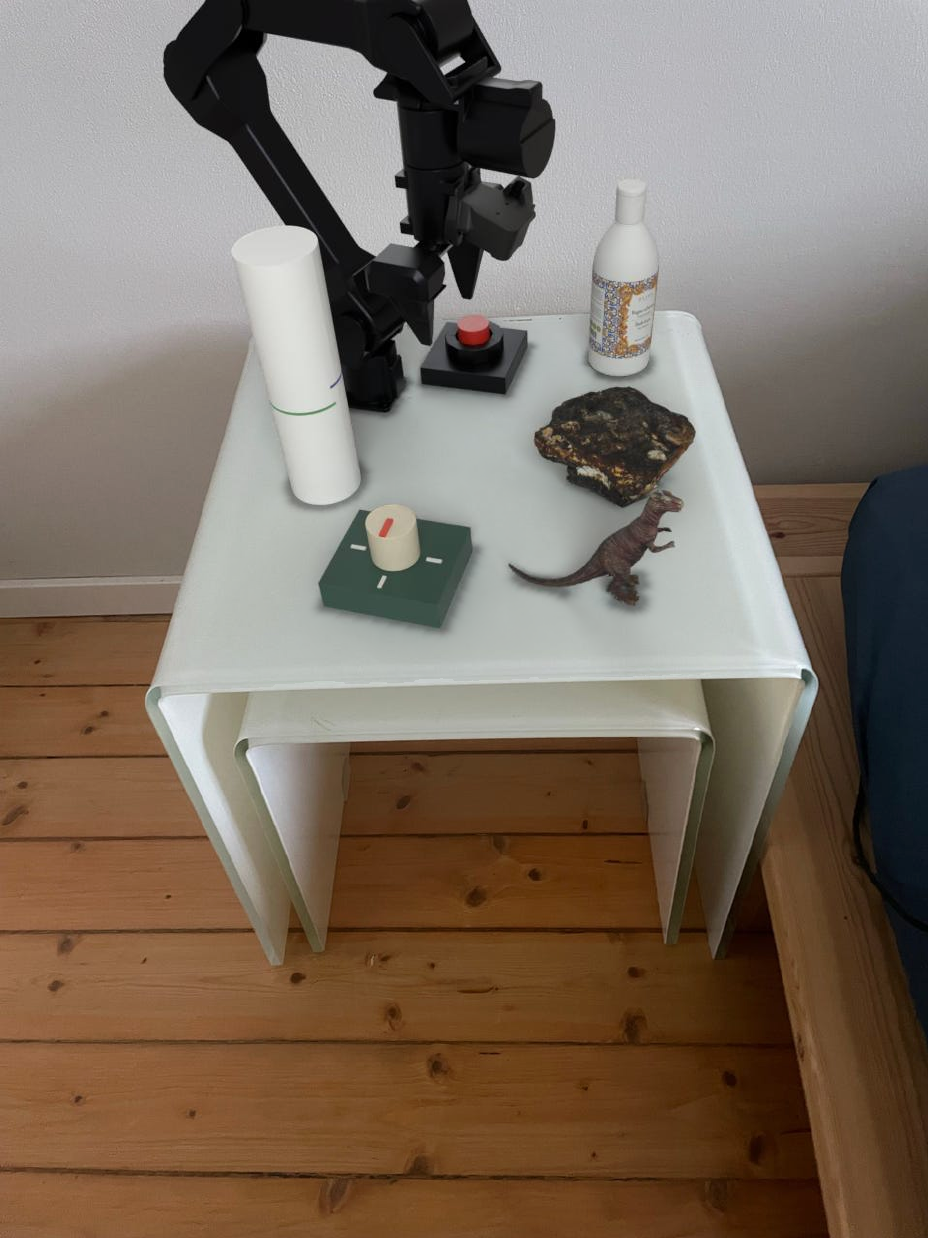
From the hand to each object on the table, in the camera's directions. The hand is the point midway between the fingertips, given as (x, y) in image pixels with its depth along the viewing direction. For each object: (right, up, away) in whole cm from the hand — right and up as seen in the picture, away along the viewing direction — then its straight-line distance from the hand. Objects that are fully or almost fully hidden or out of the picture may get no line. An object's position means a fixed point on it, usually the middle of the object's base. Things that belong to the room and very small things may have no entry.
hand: (447, 320), depth 90 cm
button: (+3, +2, +13) cm, 14 cm away
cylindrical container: (-13, -16, +3) cm, 20 cm away
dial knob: (-4, -24, -9) cm, 26 cm away
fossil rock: (+16, -15, +2) cm, 22 cm away
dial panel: (-4, -26, -7) cm, 27 cm away
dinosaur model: (+13, -27, -9) cm, 31 cm away
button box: (+3, 0, +16) cm, 16 cm away
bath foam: (+19, 0, +15) cm, 24 cm away
